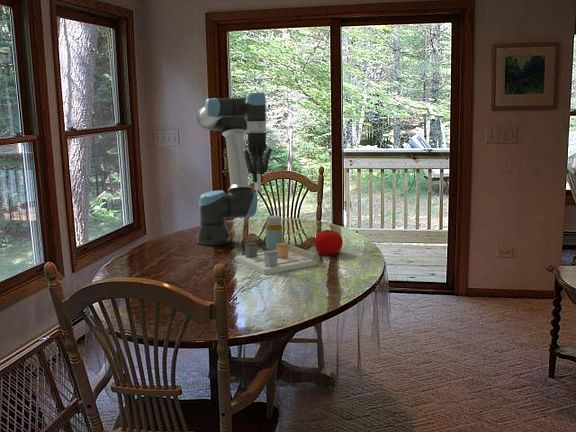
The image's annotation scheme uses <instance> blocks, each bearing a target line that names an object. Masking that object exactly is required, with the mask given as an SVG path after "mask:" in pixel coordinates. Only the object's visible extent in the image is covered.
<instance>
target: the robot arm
mask: <svg viewBox="0 0 576 432" xmlns="http://www.w3.org/2000/svg"><path fill="white" fill-rule="evenodd" d="M204 103H205V105H204V106H203V107H201V108H200V109H199V110H198V112H197V114H196V121H197V123H198V124H199V125H200V127H202V128H203V129H206V130H208V131H218V132H219V131H221V136H223V137H224V138H225V145H226V154H227V163H228V164H227V165H228V173H229V175H228V176H229V185H230V186H229V188H228V189H227V193H226V192H225V191H224V190H221V189H220V190H212V191H211V190H210V191H206V192H204V193H201V195H200V196H199V201H198V202H199V203H198V206H199V230H198V232H197V236H196V243H197V244H199V245H203V246H219V245H225V244H228V243H230V241H231V237H230V233H229V231H228V228H227V224H226V220H227V219H241V218H242V219H243V218H244V219H246V218H252V217H254V216H255V215H256V212H257V210H258V209H257V208H258V194H257V192H256V191H258V192H259V191H261V190H262V182H263V175H264V174H265V173H267V171H268V167H269V163H270V162H269V161H270V156H271V153H272V151H273V148H269V147H268V145H267V143H266V142H267V133H266V130H267V120H266V119H267V118H266V117H267V115H266V114H267V111H266V109H267V107H266V106H267V104H266V103H267V100H266V94H265V92H249V93H246V97H236V98H235V97H231V98H227V97H226V98H222V97H221V98H220V97H218V98H217V97H213V98H207V99H206V100H205V102H204ZM245 135H247V137H246V138H247V145H246V144H245V137H244V136H245ZM248 173H249V174H252V183H254V189H253V187H252V186H251V185H250V182H249V177H248V176H249V174H248ZM253 190H254V191H253Z"/></svg>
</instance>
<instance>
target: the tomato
mask: <svg viewBox="0 0 576 432" xmlns="http://www.w3.org/2000/svg"><path fill="white" fill-rule="evenodd" d="M314 247H315V249H316V251H317V252H318V253H319V254H321V255H324V256H329V255H334V254H337V253H339V252H340V251H341V249H342V248H343V237H342V236H341V234H340V233H339V232H338V231H335V230H334V229H332V230H330V229H325V230H322V231H319V232H318V233H317V235H316V236H315V238H314Z"/></svg>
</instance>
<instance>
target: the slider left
mask: <svg viewBox="0 0 576 432" xmlns="http://www.w3.org/2000/svg"><path fill="white" fill-rule="evenodd" d="M243 245H244V255H245V256H247V257H255V256H257V253H258V243H256V242H254V241H251V242H250V241H249V242H244V244H243Z"/></svg>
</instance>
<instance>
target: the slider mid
mask: <svg viewBox="0 0 576 432" xmlns="http://www.w3.org/2000/svg"><path fill="white" fill-rule="evenodd" d="M287 243H288V242H283V241H282V243H277V244H276V251H277V252H278V254H277V257H279V258H284V257H288V246H289V244H290V243H288V244H287Z"/></svg>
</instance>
